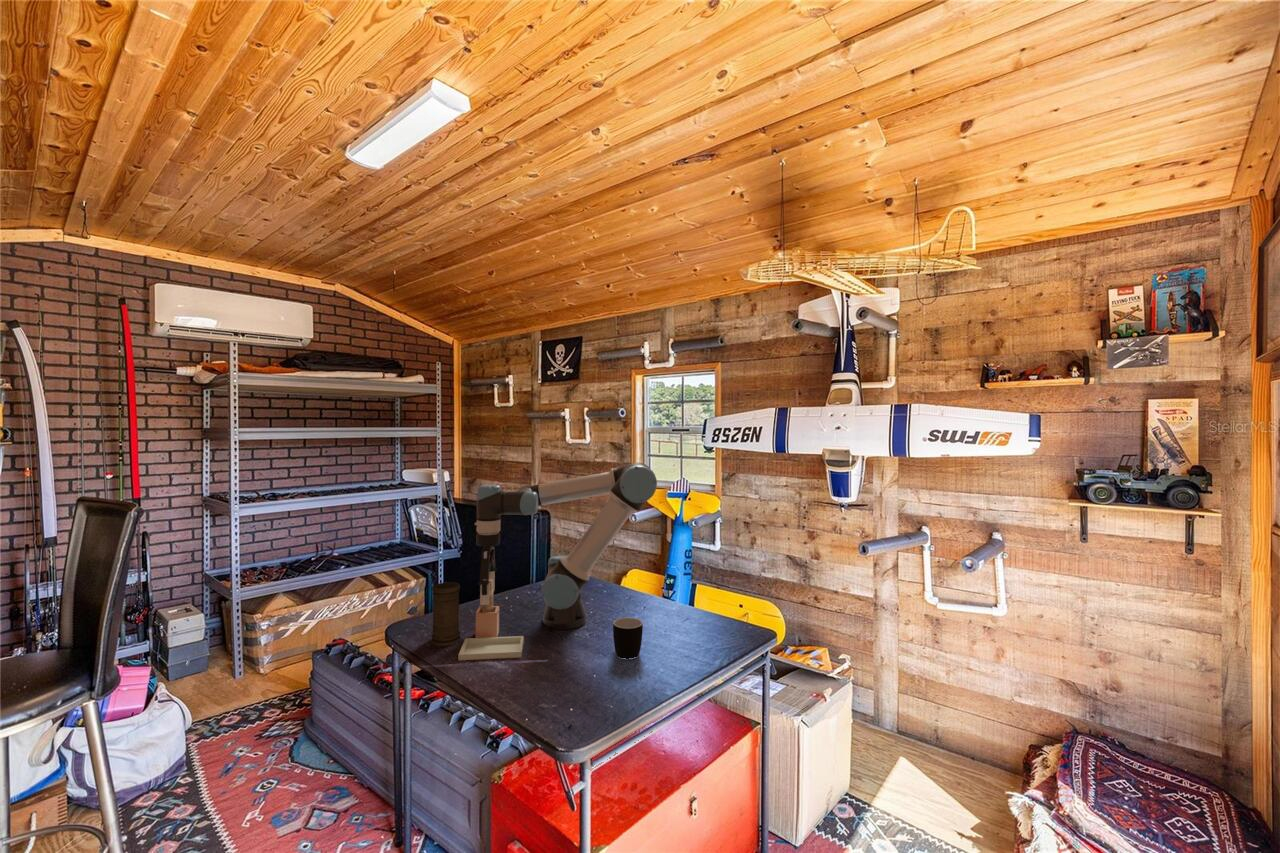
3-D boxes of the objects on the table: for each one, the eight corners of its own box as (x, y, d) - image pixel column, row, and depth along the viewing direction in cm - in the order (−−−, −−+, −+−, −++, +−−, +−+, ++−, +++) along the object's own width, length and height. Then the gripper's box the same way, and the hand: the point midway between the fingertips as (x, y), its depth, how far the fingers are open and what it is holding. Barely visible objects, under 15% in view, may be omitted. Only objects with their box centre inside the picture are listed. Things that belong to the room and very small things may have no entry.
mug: (648, 657, 167) (648, 624, 167) (623, 665, 162) (623, 630, 162) (626, 644, 177) (626, 612, 177) (602, 650, 172) (602, 618, 171)
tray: (523, 642, 177) (523, 636, 177) (521, 659, 165) (521, 651, 165) (465, 645, 174) (465, 638, 174) (458, 662, 162) (458, 654, 162)
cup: (498, 632, 185) (499, 605, 184) (496, 640, 178) (496, 612, 178) (478, 633, 184) (478, 606, 184) (475, 641, 177) (475, 613, 177)
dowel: (493, 633, 183) (493, 578, 183) (492, 637, 179) (492, 581, 179) (482, 633, 182) (483, 579, 182) (481, 637, 179) (481, 582, 179)
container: (451, 648, 172) (451, 590, 171) (425, 646, 173) (425, 588, 173) (466, 637, 180) (466, 582, 180) (441, 635, 182) (441, 580, 182)
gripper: (481, 525, 192) (481, 586, 193) (470, 541, 168) (469, 611, 168) (504, 525, 193) (503, 585, 194) (495, 540, 169) (494, 610, 169)
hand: (487, 597), depth 181 cm, fingers open, 13 cm apart
